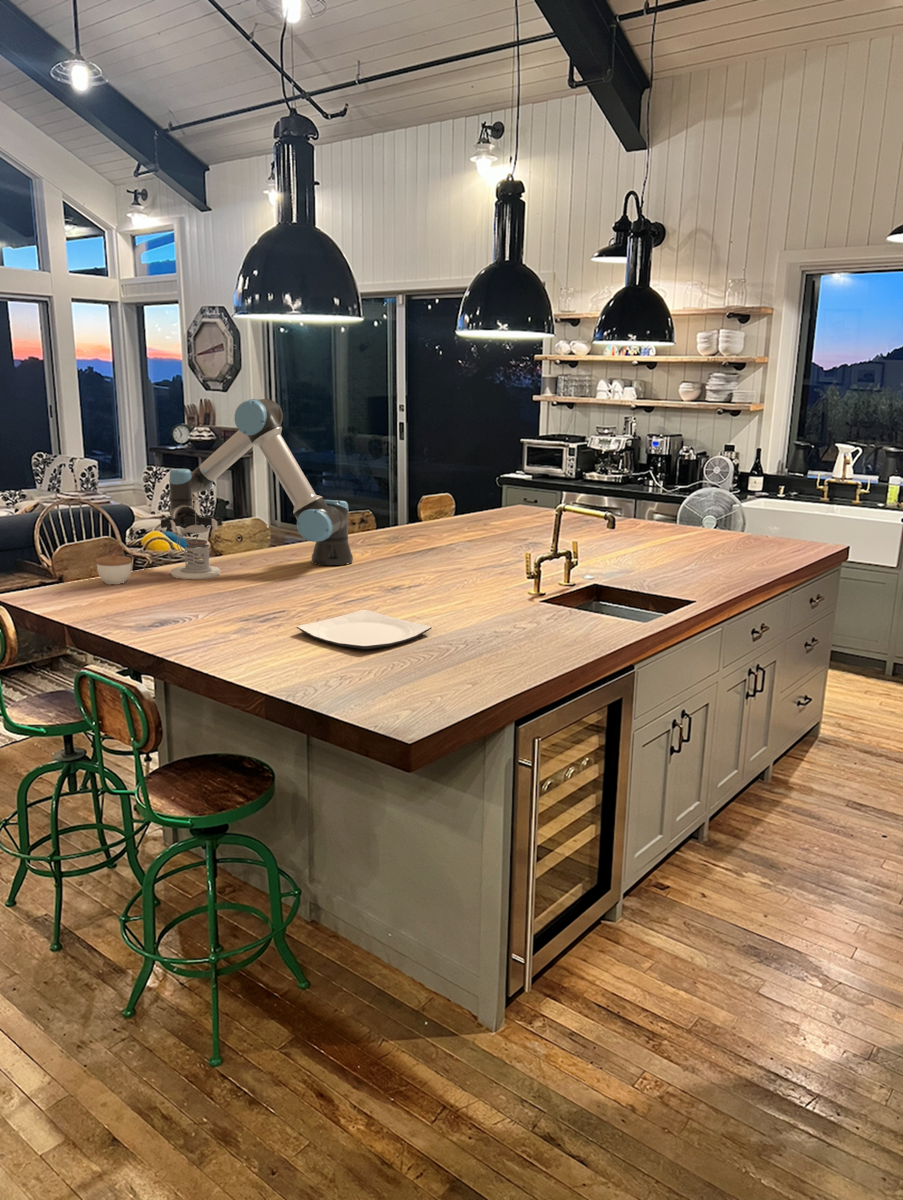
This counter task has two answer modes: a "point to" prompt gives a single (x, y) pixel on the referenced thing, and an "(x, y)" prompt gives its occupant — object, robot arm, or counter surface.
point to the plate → (364, 630)
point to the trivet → (187, 575)
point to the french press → (196, 549)
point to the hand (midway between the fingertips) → (195, 526)
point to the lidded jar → (114, 568)
